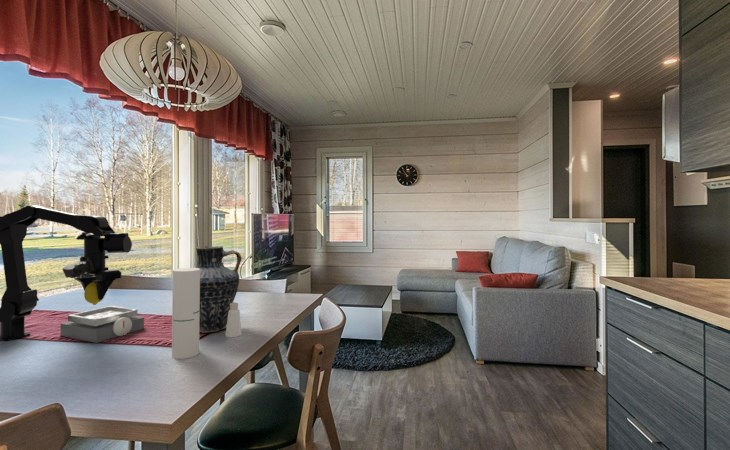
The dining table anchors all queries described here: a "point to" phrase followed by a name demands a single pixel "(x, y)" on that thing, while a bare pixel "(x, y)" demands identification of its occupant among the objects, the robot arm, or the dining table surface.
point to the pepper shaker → (233, 321)
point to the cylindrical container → (185, 312)
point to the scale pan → (102, 315)
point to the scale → (102, 329)
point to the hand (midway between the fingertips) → (94, 298)
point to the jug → (216, 287)
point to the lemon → (91, 294)
